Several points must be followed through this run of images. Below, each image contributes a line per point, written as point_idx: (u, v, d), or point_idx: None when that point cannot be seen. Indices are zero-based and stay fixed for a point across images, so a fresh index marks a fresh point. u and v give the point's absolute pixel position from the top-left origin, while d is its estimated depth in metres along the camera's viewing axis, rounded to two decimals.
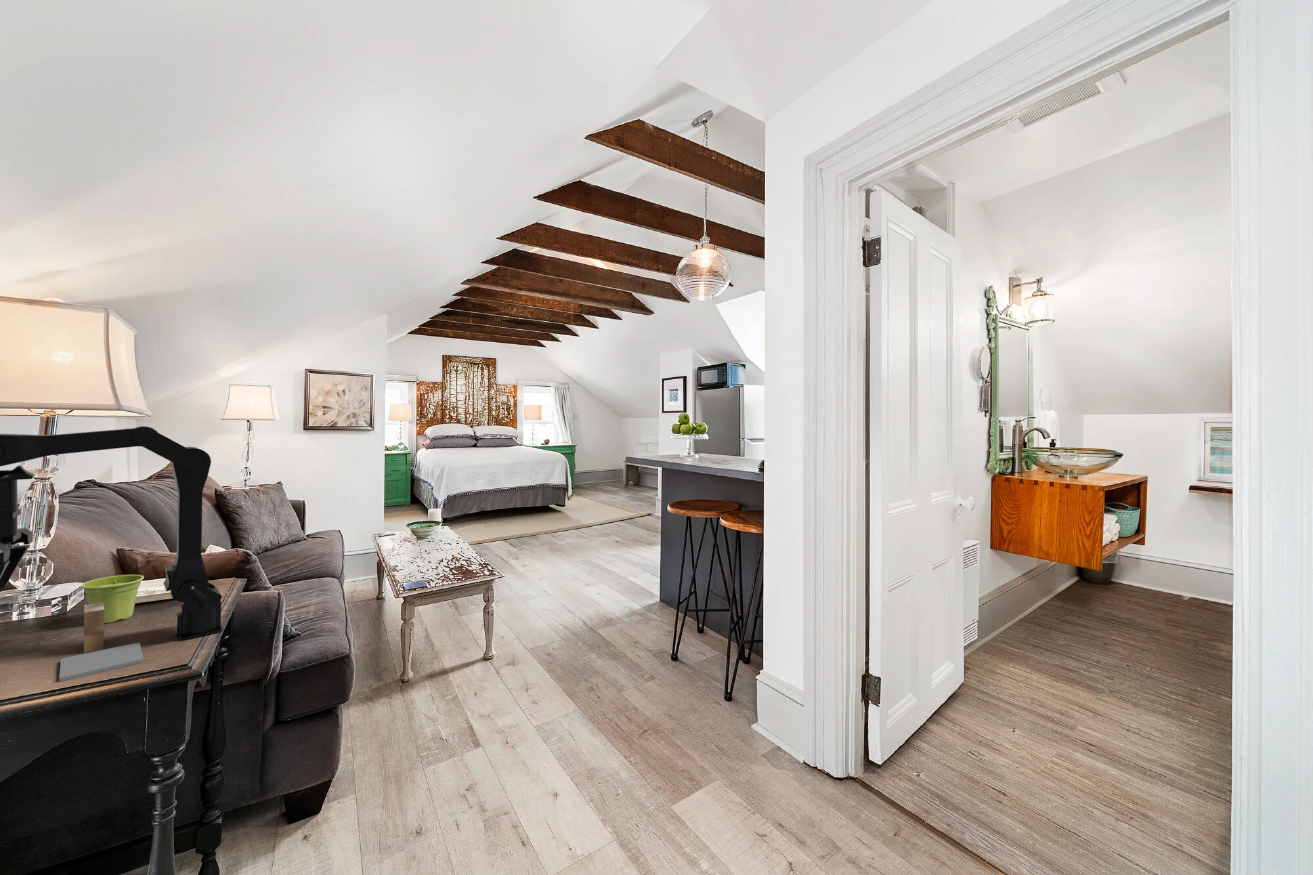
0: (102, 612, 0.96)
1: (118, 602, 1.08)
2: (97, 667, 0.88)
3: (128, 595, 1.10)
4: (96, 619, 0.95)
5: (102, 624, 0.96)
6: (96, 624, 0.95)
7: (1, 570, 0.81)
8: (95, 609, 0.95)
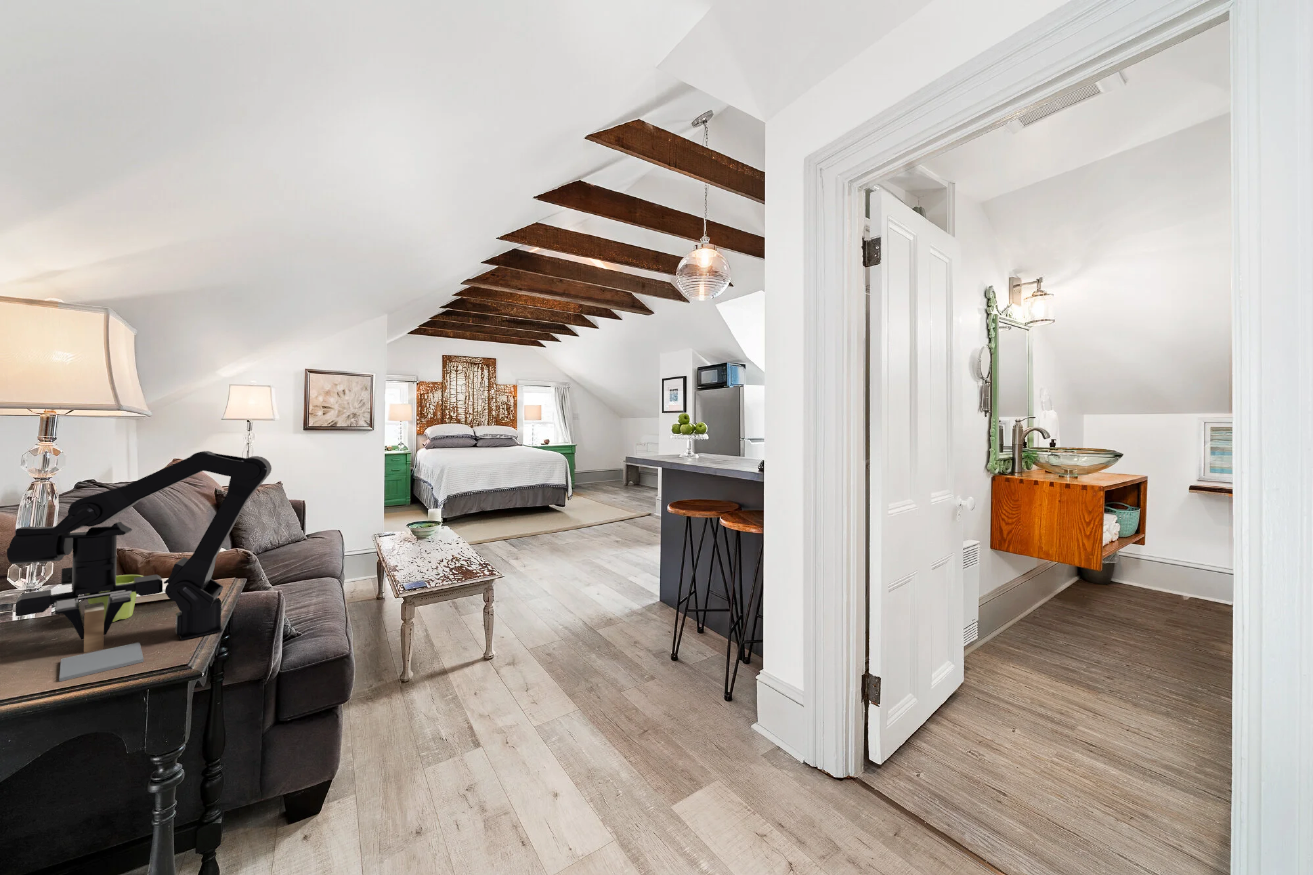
0: (102, 612, 0.96)
1: None
2: (97, 667, 0.88)
3: None
4: (96, 619, 0.95)
5: (102, 624, 0.96)
6: (96, 624, 0.95)
7: None
8: (95, 609, 0.95)
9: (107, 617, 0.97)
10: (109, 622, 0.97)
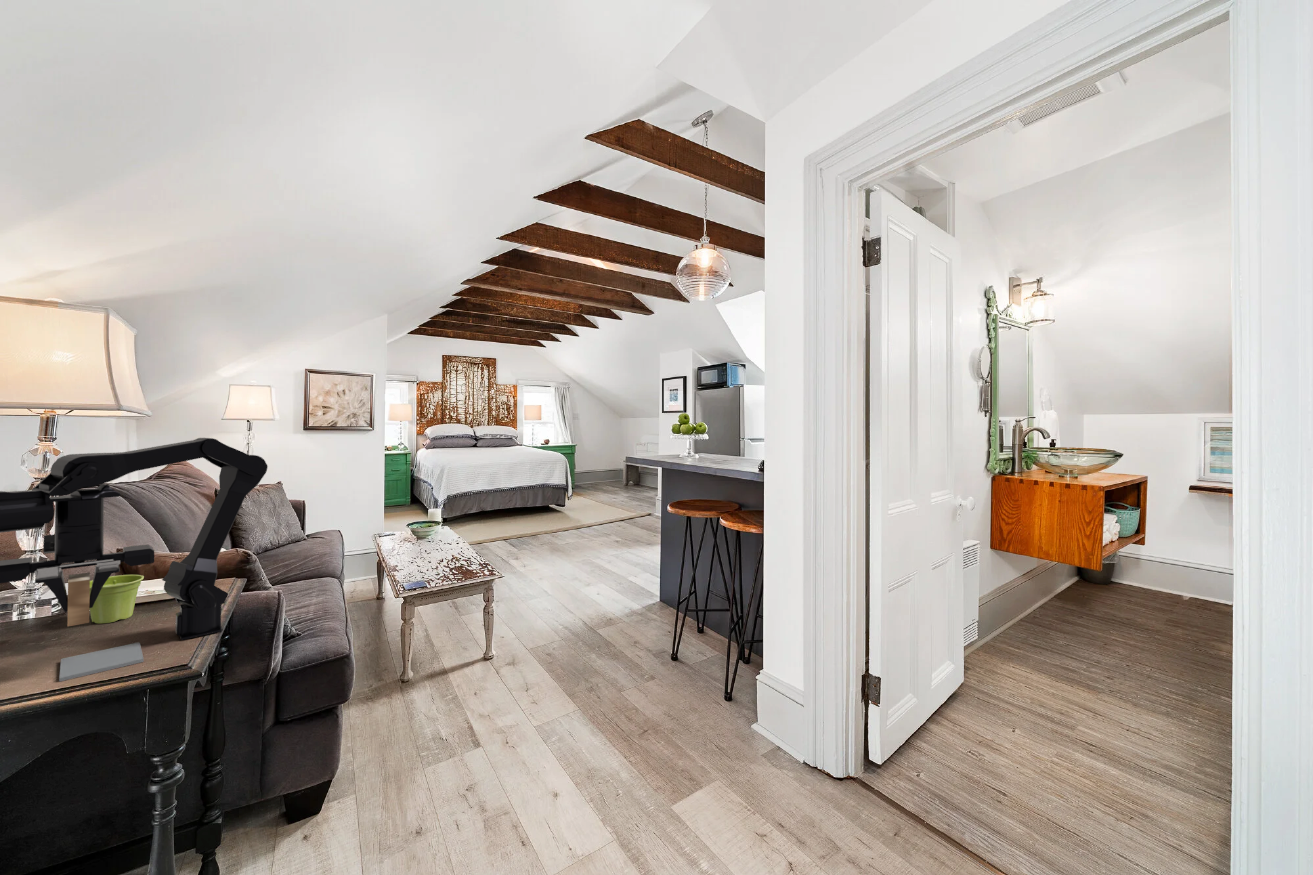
0: (88, 582, 0.88)
1: (118, 602, 1.08)
2: (97, 667, 0.88)
3: (128, 595, 1.10)
4: (81, 590, 0.87)
5: (88, 595, 0.88)
6: (81, 596, 0.87)
7: (47, 585, 0.84)
8: (80, 579, 0.87)
9: (93, 588, 0.89)
10: (95, 594, 0.89)
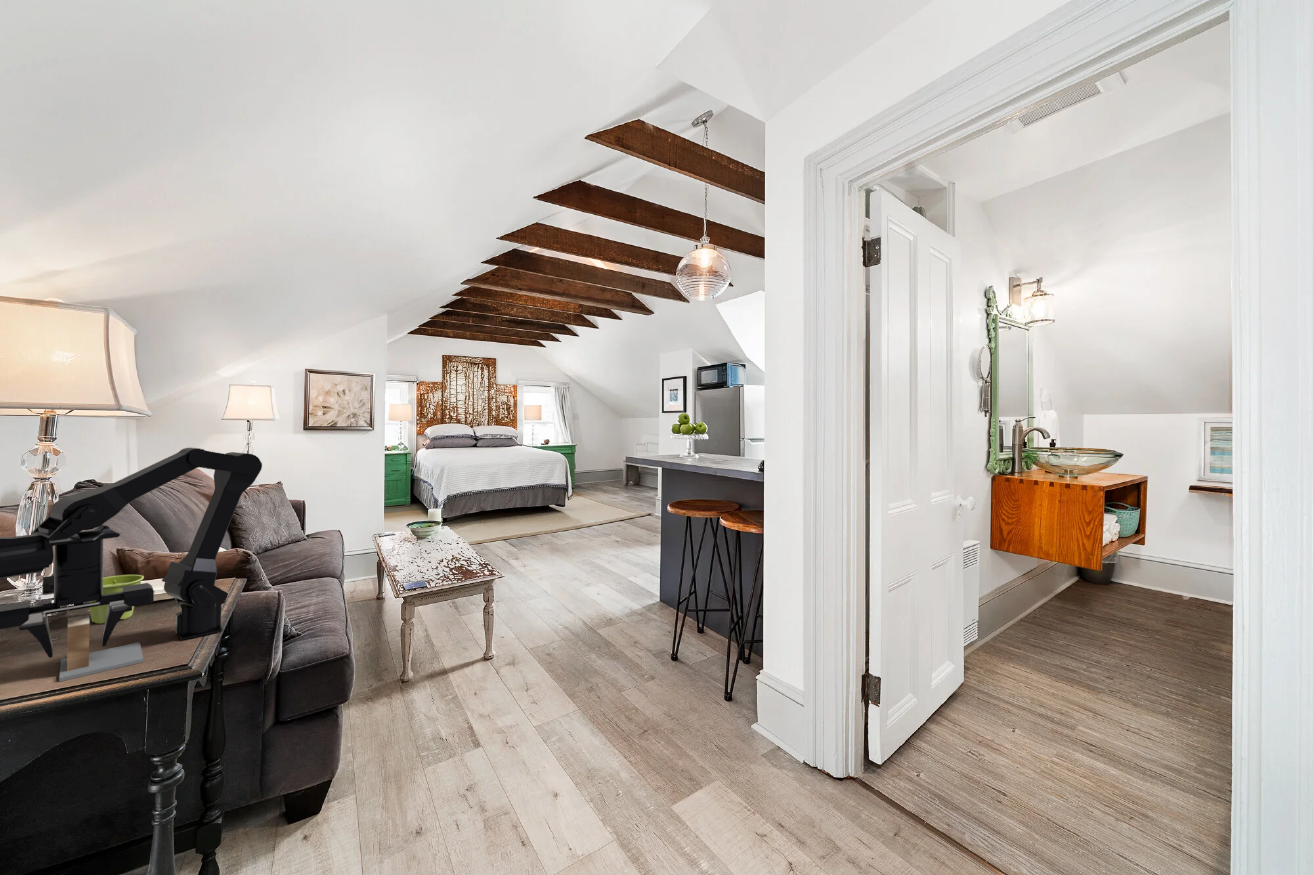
0: (87, 626, 0.88)
1: None
2: (97, 667, 0.88)
3: None
4: (81, 634, 0.87)
5: (87, 639, 0.88)
6: (81, 640, 0.87)
7: (31, 632, 0.83)
8: (80, 623, 0.87)
9: (106, 627, 0.90)
10: (109, 633, 0.90)
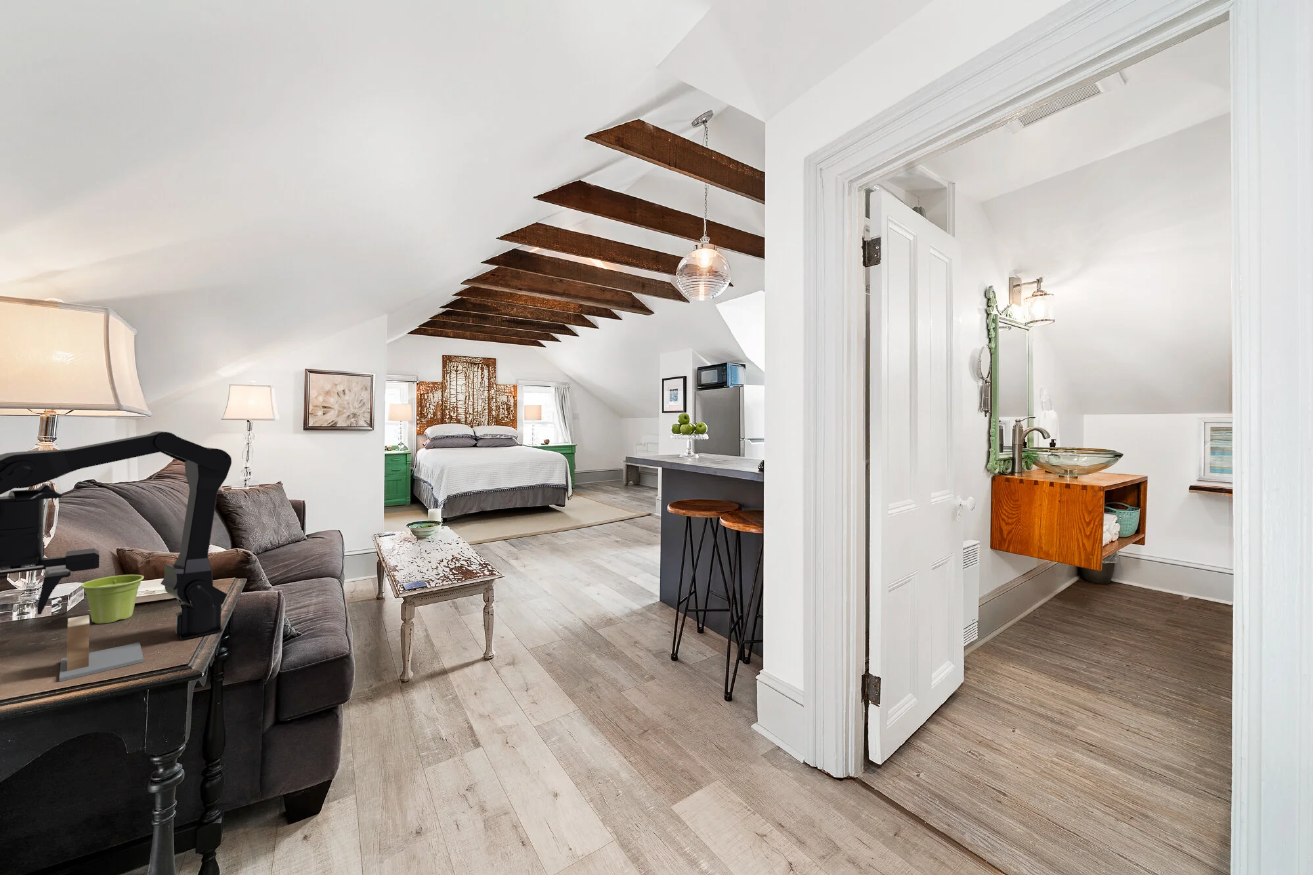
0: (87, 626, 0.88)
1: (118, 602, 1.08)
2: (97, 667, 0.88)
3: (128, 595, 1.10)
4: (81, 634, 0.87)
5: (87, 639, 0.88)
6: (81, 640, 0.87)
7: None
8: (80, 623, 0.87)
9: (42, 594, 0.84)
10: (44, 600, 0.85)
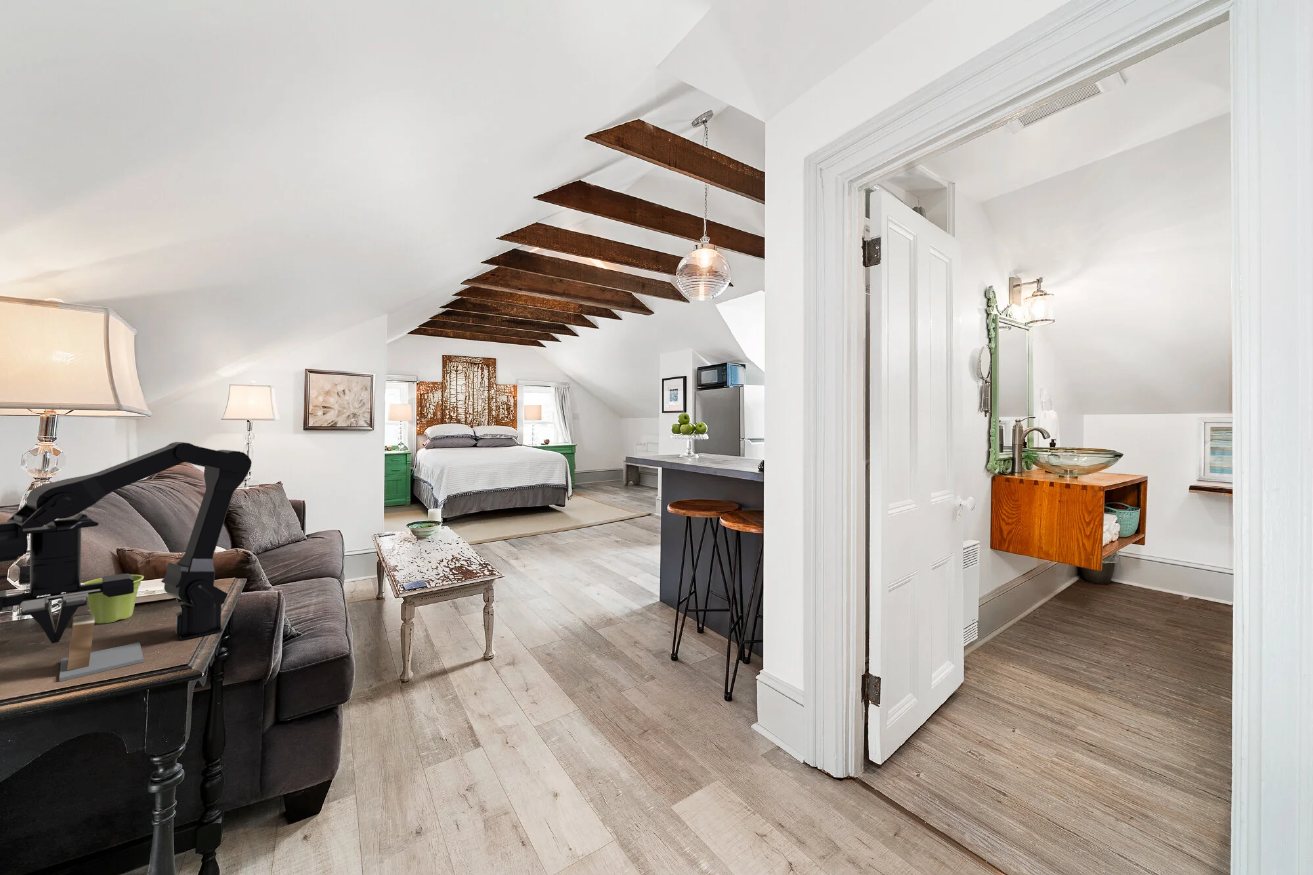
0: (92, 625, 0.88)
1: (118, 602, 1.08)
2: (97, 667, 0.88)
3: (128, 595, 1.10)
4: (85, 633, 0.88)
5: (90, 639, 0.88)
6: (84, 639, 0.88)
7: None
8: (85, 622, 0.88)
9: (59, 623, 0.86)
10: (62, 628, 0.86)
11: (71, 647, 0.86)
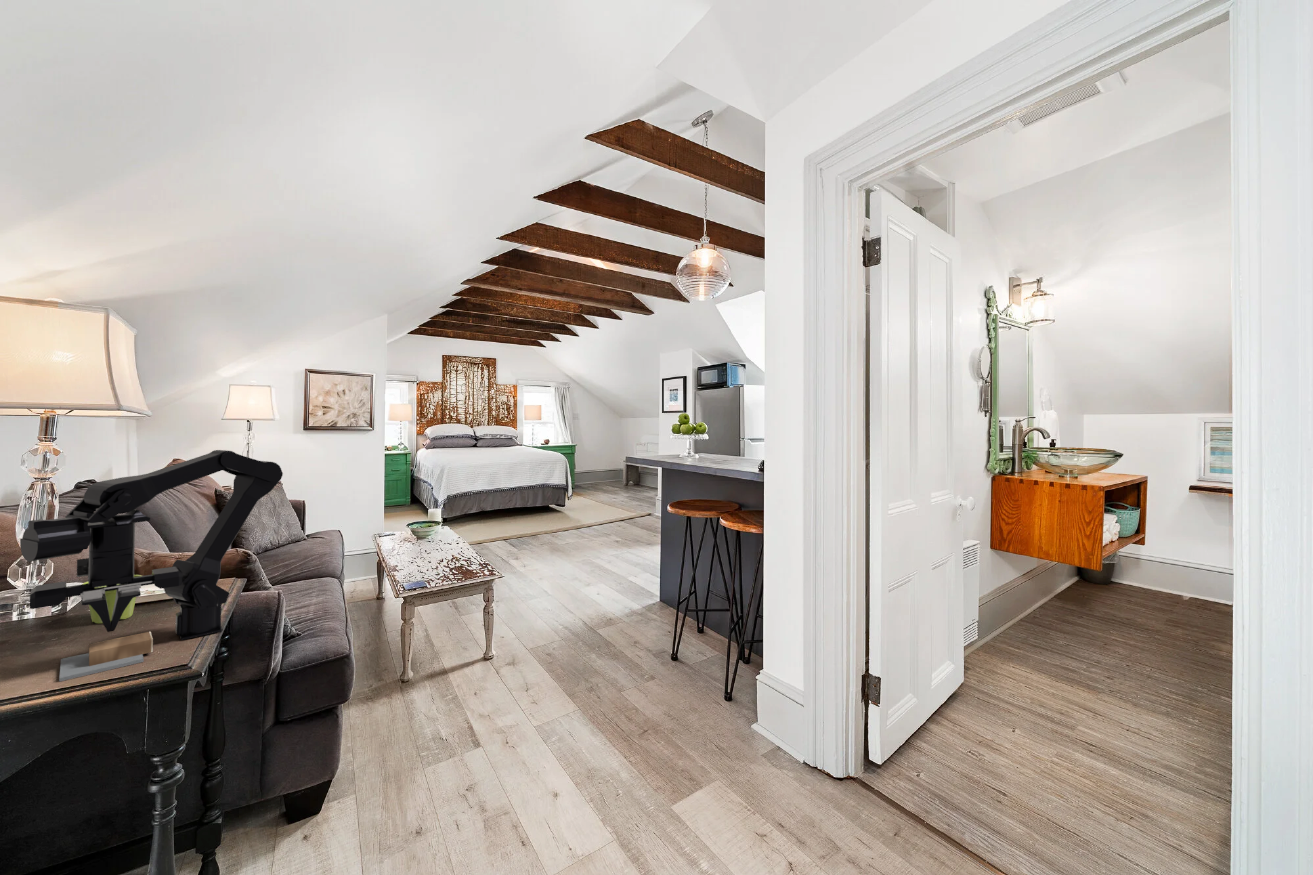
0: (147, 652, 0.94)
1: None
2: (97, 667, 0.88)
3: None
4: (138, 650, 0.93)
5: (128, 656, 0.92)
6: (130, 652, 0.92)
7: (92, 607, 0.88)
8: None
9: (115, 612, 0.91)
10: (117, 618, 0.91)
11: (121, 646, 0.91)
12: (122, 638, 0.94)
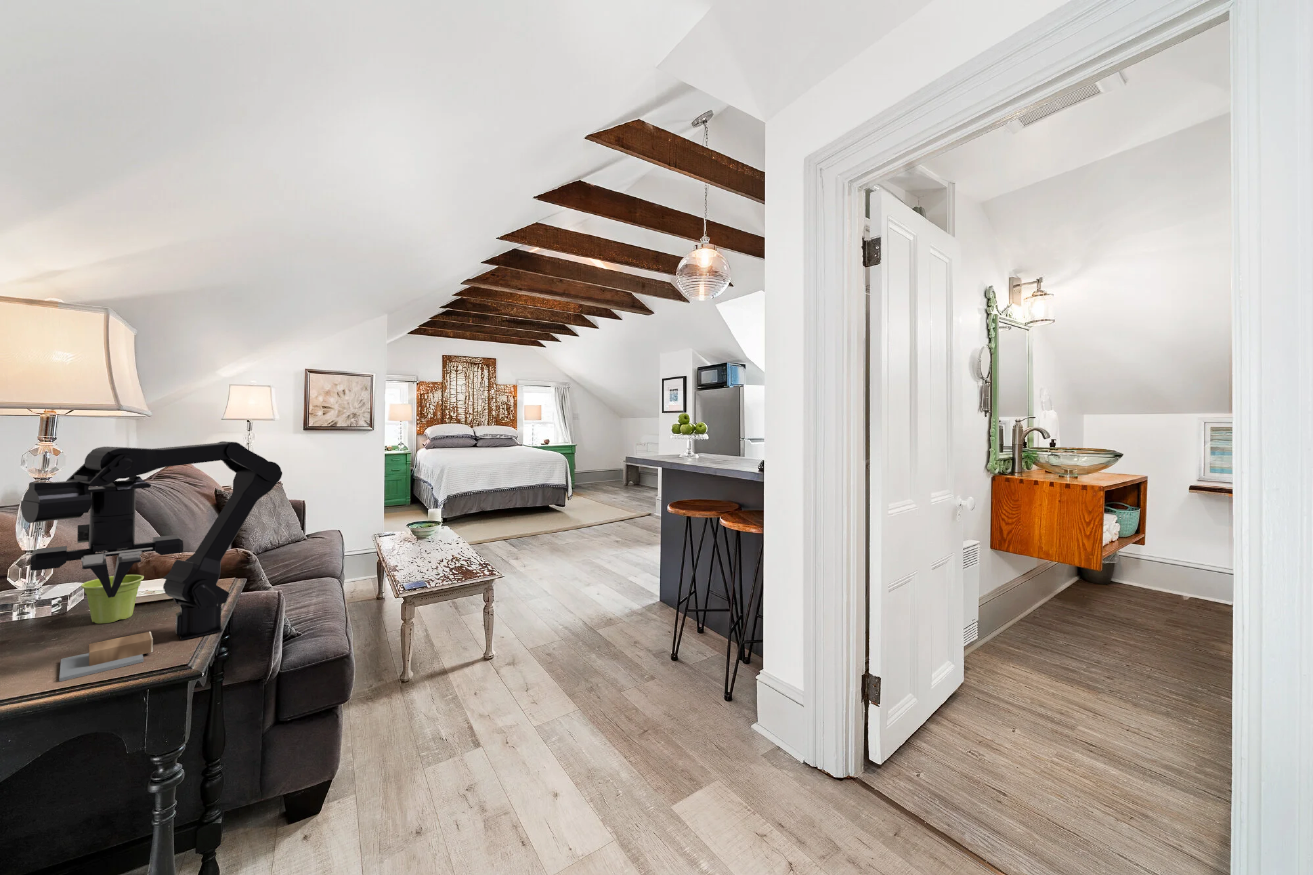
0: (147, 652, 0.94)
1: (118, 602, 1.08)
2: (97, 667, 0.88)
3: (128, 595, 1.10)
4: (138, 650, 0.93)
5: (128, 656, 0.92)
6: (130, 652, 0.92)
7: None
8: None
9: (116, 578, 0.91)
10: (118, 583, 0.91)
11: (121, 646, 0.91)
12: (122, 638, 0.94)
